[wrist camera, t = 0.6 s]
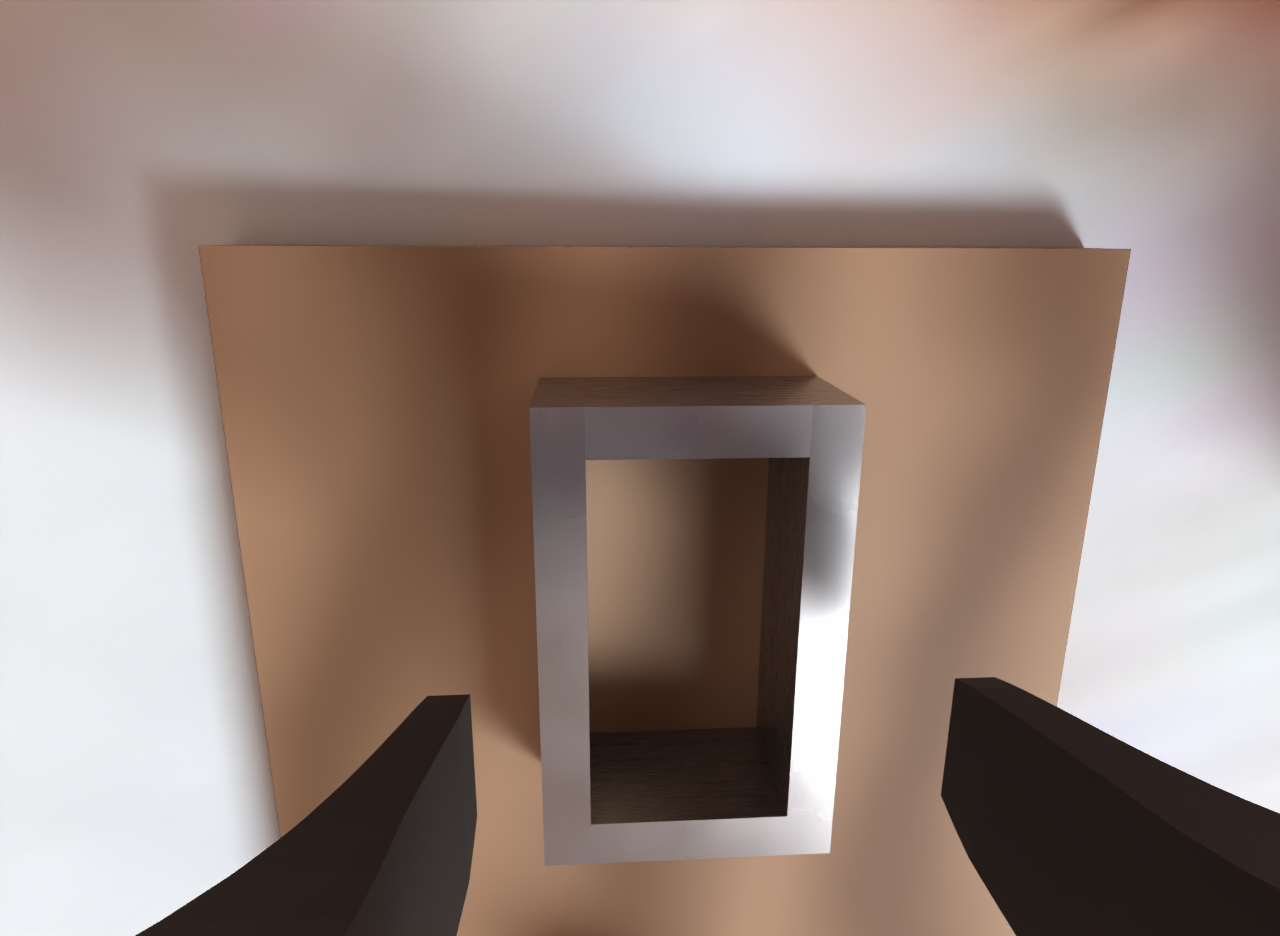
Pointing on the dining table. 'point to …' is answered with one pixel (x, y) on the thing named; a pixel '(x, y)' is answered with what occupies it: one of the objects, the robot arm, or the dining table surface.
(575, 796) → the silver rectangular frame
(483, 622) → the keeper board
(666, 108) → the dining table surface
